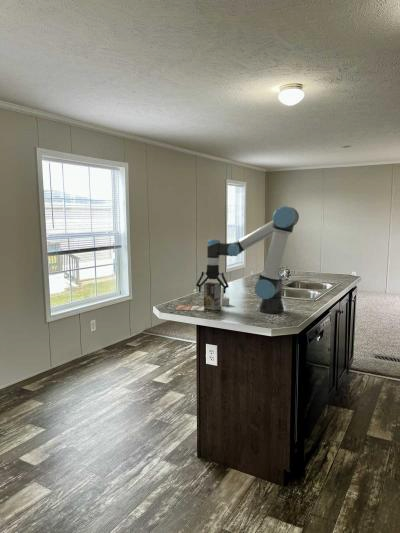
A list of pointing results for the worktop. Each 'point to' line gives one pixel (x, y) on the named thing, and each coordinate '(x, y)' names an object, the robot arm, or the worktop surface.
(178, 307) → the board
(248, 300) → the worktop surface
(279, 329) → the worktop surface
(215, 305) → the coffee box
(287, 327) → the worktop surface
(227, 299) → the die
